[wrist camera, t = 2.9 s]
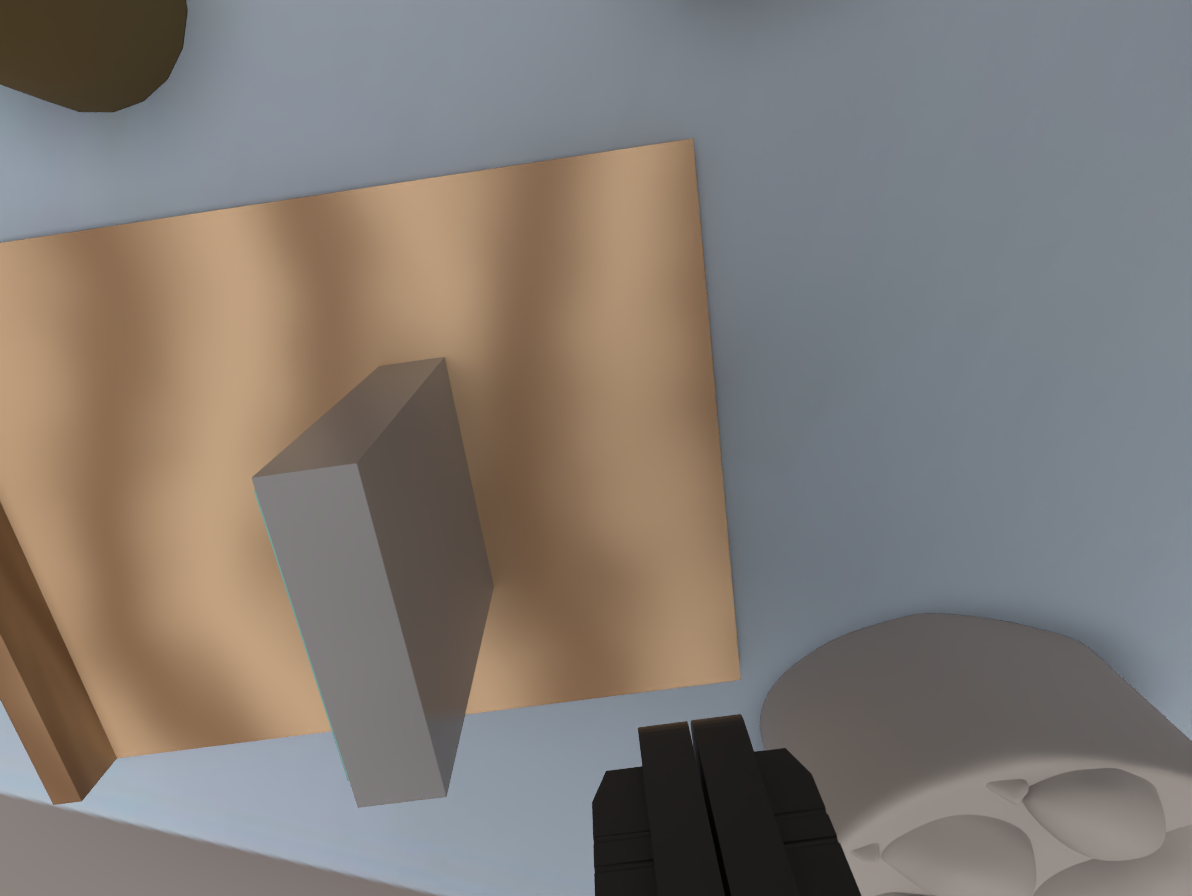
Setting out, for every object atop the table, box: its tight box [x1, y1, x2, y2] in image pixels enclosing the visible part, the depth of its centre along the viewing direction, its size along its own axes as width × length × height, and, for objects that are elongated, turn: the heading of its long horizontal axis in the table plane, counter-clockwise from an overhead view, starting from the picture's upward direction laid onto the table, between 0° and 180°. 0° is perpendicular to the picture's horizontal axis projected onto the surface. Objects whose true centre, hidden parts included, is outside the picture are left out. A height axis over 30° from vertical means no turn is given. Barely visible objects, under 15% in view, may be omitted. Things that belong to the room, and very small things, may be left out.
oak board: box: [0, 139, 741, 805], centre depth 23 cm, size 24×18×3 cm
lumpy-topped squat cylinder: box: [760, 613, 1192, 896], centre depth 24 cm, size 10×13×9 cm
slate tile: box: [252, 357, 494, 808], centre depth 19 cm, size 2×8×9 cm, turn 8°
